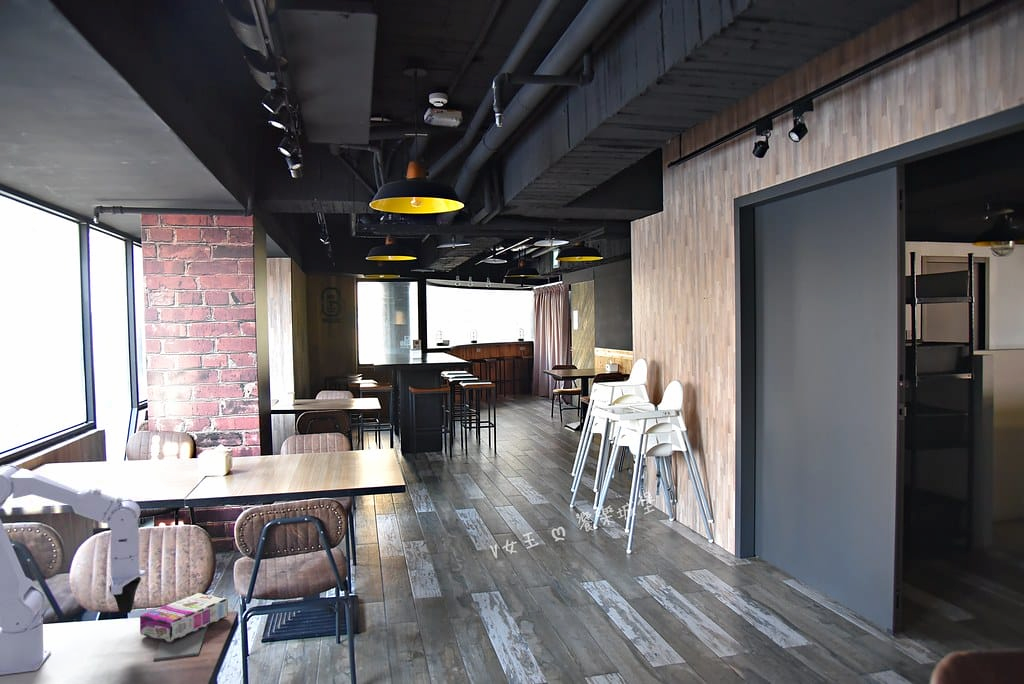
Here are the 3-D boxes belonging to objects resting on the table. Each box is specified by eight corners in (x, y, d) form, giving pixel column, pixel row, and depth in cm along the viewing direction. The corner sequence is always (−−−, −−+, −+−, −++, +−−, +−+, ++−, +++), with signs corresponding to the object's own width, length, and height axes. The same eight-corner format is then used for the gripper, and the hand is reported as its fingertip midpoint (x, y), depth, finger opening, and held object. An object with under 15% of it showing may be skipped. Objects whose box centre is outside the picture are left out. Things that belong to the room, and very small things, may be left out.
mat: (153, 660, 146) (153, 658, 146) (166, 631, 159) (166, 629, 159) (198, 655, 149) (198, 652, 149) (207, 626, 162) (207, 624, 162)
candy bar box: (170, 644, 151) (228, 617, 166) (169, 622, 151) (228, 597, 166) (139, 636, 156) (198, 610, 171) (138, 615, 156) (198, 591, 171)
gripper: (136, 564, 144) (136, 624, 145) (152, 542, 158) (152, 596, 159) (99, 567, 142) (100, 628, 143) (119, 544, 156) (120, 600, 157)
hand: (125, 612), depth 151 cm, fingers closed
